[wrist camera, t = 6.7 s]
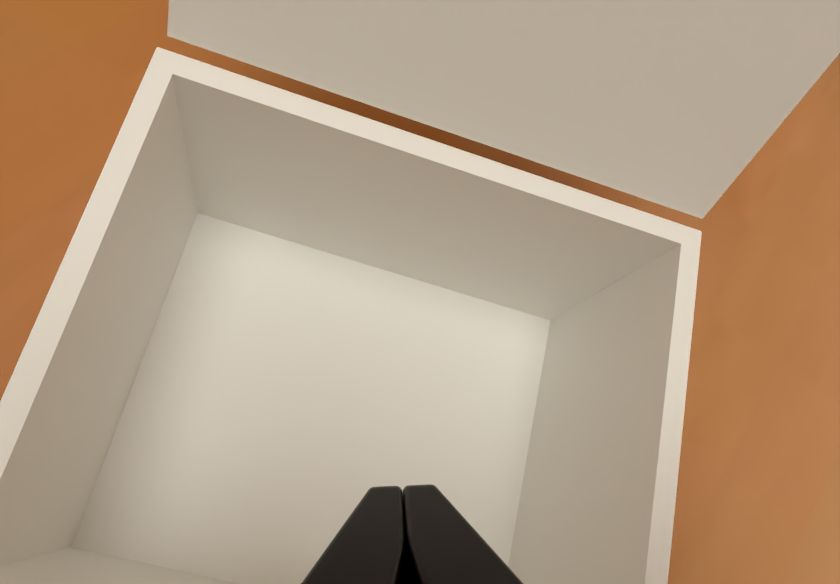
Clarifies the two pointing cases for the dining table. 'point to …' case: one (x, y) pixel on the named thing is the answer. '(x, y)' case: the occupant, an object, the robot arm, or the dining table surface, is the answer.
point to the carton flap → (554, 75)
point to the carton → (339, 352)
